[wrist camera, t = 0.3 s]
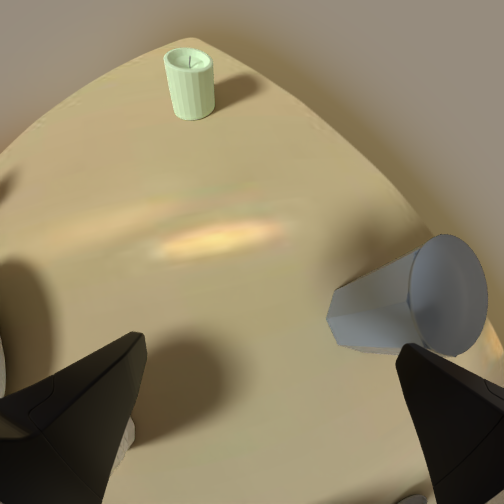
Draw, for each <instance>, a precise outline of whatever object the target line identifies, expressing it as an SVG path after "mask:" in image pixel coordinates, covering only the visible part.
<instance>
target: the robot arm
mask: <svg viewBox="0 0 504 504" xmlns="http://www.w3.org/2000/svg"><path fill="white" fill-rule="evenodd" d="M146 360H147V349H146V342H145V336H144V334H143V333H139V332H133V331H132V332H130V333H128V334H126V335H124V336H122V337H121V338H119V339H117V340H115V341H113V342H111V343H110V344H108V345H106V346H104V347H102V348H101V349H99V350H97V351H95V352H93V353H91V354H90V355H88V356H86V357H84V358H82V359H81V360H79V361H77V362H75V363H73V364H71V365H69V366H68V367H66V368H64V369H62V370H60V371H58V372H57V373H55V374H54V375H51V376H49V377H47V378H45V379H43V380H41V381H39V382H37V383H35V384H33V385H31V386H29V387H27V388H24V389H22V390H20V391H17V392H15V393H12V394H10V395H7V396H5V397H2V398H0V504H102V499H103V497H104V493H105V490H106V487H107V483H108V480H109V477H110V474H111V470H112V467H113V464H114V461H115V458H116V455H117V452H118V449H119V446H120V443H121V440H122V438H123V435H124V432H125V429H126V426H127V423H128V421H129V418H130V415H131V412H132V410H133V407H134V404H135V402H136V399H137V396H138V392H139V388H140V384H141V380H142V376H143V372H144V368H145V364H146ZM396 370H397V373H398V377H399V380H400V384H401V387H402V391H403V395H404V398H405V401H406V404H407V407H408V410H409V412H410V415H411V418H412V421H413V423H414V426H415V429H416V432H417V435H418V438H419V441H420V444H421V447H422V450H423V454H424V457H425V460H426V464H427V467H428V471H429V474H430V478H431V482H432V485H433V490H434V494H435V498H436V502H437V504H504V388H502V387H500V386H498V385H496V384H494V383H492V382H490V381H488V380H486V379H483V378H482V377H480V376H478V375H476V374H474V373H472V372H470V371H468V370H466V369H464V368H462V367H460V366H458V365H456V364H454V363H452V362H450V361H448V360H447V359H445V358H443V357H441V356H439V355H437V354H435V353H433V352H431V351H429V350H427V349H425V348H423V347H421V346H419V345H417V344H415V343H406V344H404V345H403V346H402V348H401V351H400V353H399V355H398V358H397V360H396Z"/></svg>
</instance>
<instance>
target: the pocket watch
mask: <svg viewBox="0 0 504 504" xmlns="http://www.w3.org/2000/svg"><path fill="white" fill-rule="evenodd" d="M398 504H427V498H426V497H425V496H423V495H420V494H417V495H413V496H409V497H407V498H405V499H403V500H402V501H401V502H399V503H398Z"/></svg>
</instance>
